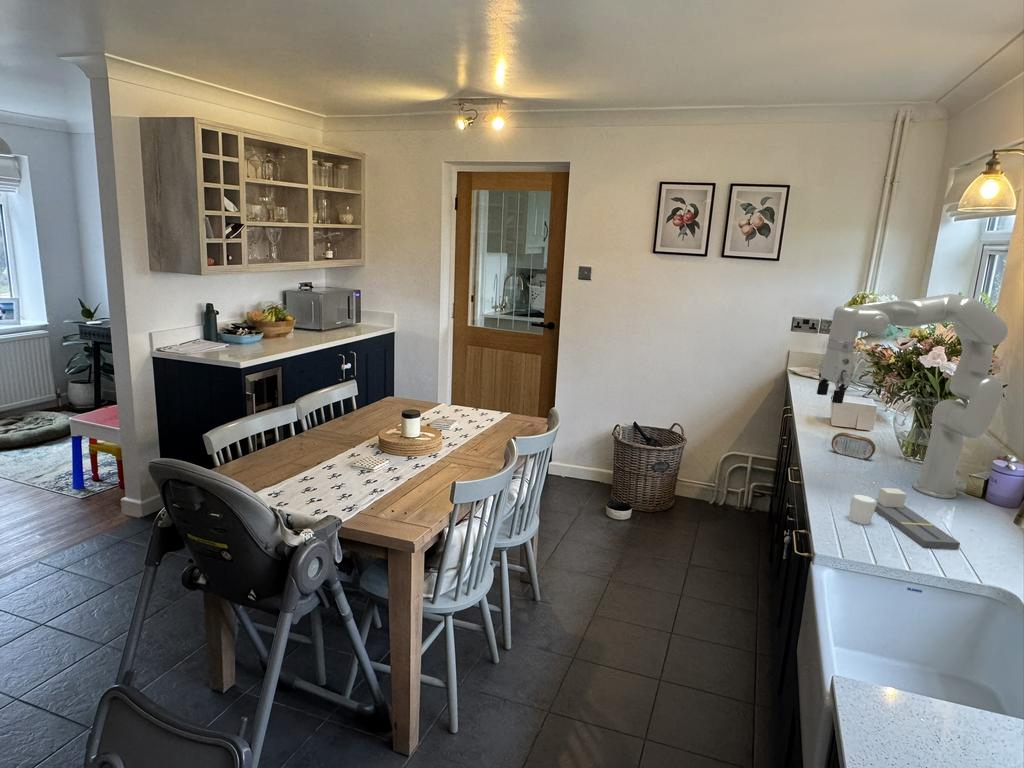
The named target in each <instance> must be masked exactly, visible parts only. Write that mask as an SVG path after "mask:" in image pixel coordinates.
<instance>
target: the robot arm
mask: <svg viewBox="0 0 1024 768" xmlns="http://www.w3.org/2000/svg"><path fill="white" fill-rule="evenodd" d="M946 322H947V323H949V322H951V323H953V331H954V333H955V334H956V336H957V337H958V339H959V341H960V343H961V355H960V357H959V360H958V363H957V365H956V367H955V370H954V372H953V375H952V378H951V380H950V383H949V391H950V392H951V393H952V394H953V395H954V396H957V397H958V398H960V399H964V400H966V401H968V403H964V402H962V401H959V400H955V399H944V400H940V401H939V402H938V403H937V404H935V406H934V408H933V411H932V416H931V432H930V436H929V440H928V444H927V448H926V452H925V456H924V460H923V464H922V468H921V472H920V476H919V480H916V481H913V483H912V488H913V489H914V490H916V491H918V492H920V493H921V494H924V495H928V496H931V497H933V498H934V497H935V498H940V499H949V498H950V499H954V498H956V496H957V493H956V491H955V490H966V489H967V484H966V483H961V482H960V483H958V482H957V481H955V477H956V473H957V470H958V468H959V467H958V466H959V462H960V458H961V455H962V451H963V448H964V437H966V438H969V439H976V438H977V439H978V438H980V437H982V436H983V435H985V433H987V431H988V430H989V428H990V426H991V424H992V422H993V420H994V417H995V415H996V413H997V410H998V409H999V406H1000V404H1001V402H1002V399H1003V396H1004V387H1003V383H1002V382H1001V381H1000V380H999V379H998V377H995V376H993V375H990V374H989V371H990V368H991V365H992V362H993V359H994V348H993V346H997V345H999V344H1001V343H1003V342H1004V341H1005V340H1006V338H1007V336H1008V333H1009V329H1008V326H1007V323H1006V322H1005V321H1004V320H1003V318H1001V317H1000V316H999V315H997V314H996V313H995V312H994V311H992V310H991V309H990V308H988V307H987V306H986V305H984V304H983V303H982V302H980V301H979V300H977V299H976V298H974V297H972V296H971V297H970V296H965V295H960V294H955V293H949V294H942V295H941V294H940V295H939V294H938V295H935V296H934V295H933V296H928V297H922V298H915V299H904V300H903V299H901V300H890V301H877V302H870V303H863V304H859V305H855V306H853V307H852V306H846V305H845V306H844V305H843V306H842V305H840V306H839V305H838V306H837V307H835V309H834V311H833V315H832V319H831V325H830V330H829V335H828V339H827V343H826V351H825V352H824V353H825V354H824V357H823V361H822V365H821V366H819V368H818V385H817V386H818V387H817V390H816V395H818V396H827V395H828V391H829V385H830V383H833V384H834V387H835V389H834V390H833V395H832V400H831V402H832V403H833V404H843V403H844V398H845V394H846V392H847V389H848V388H849V385H850V384H851V382H852V379H851V375H852V368H853V359H854V358H853V357H854V356H853V353H854V347H855V342H856V339H857V334H858V332H862V333H866V334H871V335H876V334H877V335H878V334H881V333H882V332H885V330H887V329H888V327H889V325H890V326H899V327H908V328H909V327H910V328H911V327H923V326H928V325H934V324H939V323H946ZM829 382H830V383H829Z"/></svg>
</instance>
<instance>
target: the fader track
mask: <svg viewBox="0 0 1024 768" xmlns="http://www.w3.org/2000/svg"><path fill="white" fill-rule="evenodd" d="M875 499H876V500H877V499H878V498H875ZM874 512H875V513H876V512H877V513H878V515H879V516H880V515H881V516H882V519H884V518H885V519H884V520H885V521H887V520H888V521H889V522H888V521H887V522H888V523H889V524H891V525H892V524H893V525H892V526H893V527H895V528H897V529H898V530H899V531H900V532H901V533H903V534H904V535H905V536H907V537H908V538H910V540H913V541H914V542H915V543H917V544H918V545H920V546H921V547H922V548H923V549H936V550H937V549H938V550H939V549H941V550H956V549H958V550H959V549H960V545H961V542H960V541H958V540H956V539H955V538H954V537H953V536H951V535H949V534H947V533H946V532H945V531H943V530H942V529H940V528H939V527H938V526H936V525H935V524H933V523H931V522H930V521H928V520H927V519H925V518H924V517H922V516H921V515H919V514H918V513H917V512H915V511H914V510H912V509H911V508H910V507H907V506H906V505H905V504H904V507H903V508H897V507H884V506H883V505H881V504H880V503H879V502H877V504H876V507H875V510H874ZM877 513H876V514H877ZM881 516H880V517H881Z"/></svg>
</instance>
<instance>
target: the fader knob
mask: <svg viewBox="0 0 1024 768" xmlns="http://www.w3.org/2000/svg"><path fill="white" fill-rule="evenodd" d="M876 499H877V502H879V503H880V504H881V505H883V506H884V507H897V508H903V507H904V505H905V503H906V499H907V493H906V492H904V491H902V490H901V489H900V488H893V487H892V488H891V487H887V488H886V487H880V488H879V490H878V494H877V498H876Z"/></svg>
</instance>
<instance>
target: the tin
mask: <svg viewBox="0 0 1024 768" xmlns="http://www.w3.org/2000/svg"><path fill="white" fill-rule="evenodd" d="M830 443H831V448H832V450H833V451H834V452H835V453H836V454H838V455H842V456H845V457H846V456H847V457H849V458H853V459H857V458H858V460H862V459H863V461H864V460H869V459H870V458H872V457H873V455H874V454H875V452H876V444H875V443H874V441H873V440H872V439H870V438H868V437H865V436H861V435H856V434H851V433H848V432H838V433H836V434H835V435H834V436H833V437H832V440H831V442H830Z"/></svg>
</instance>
